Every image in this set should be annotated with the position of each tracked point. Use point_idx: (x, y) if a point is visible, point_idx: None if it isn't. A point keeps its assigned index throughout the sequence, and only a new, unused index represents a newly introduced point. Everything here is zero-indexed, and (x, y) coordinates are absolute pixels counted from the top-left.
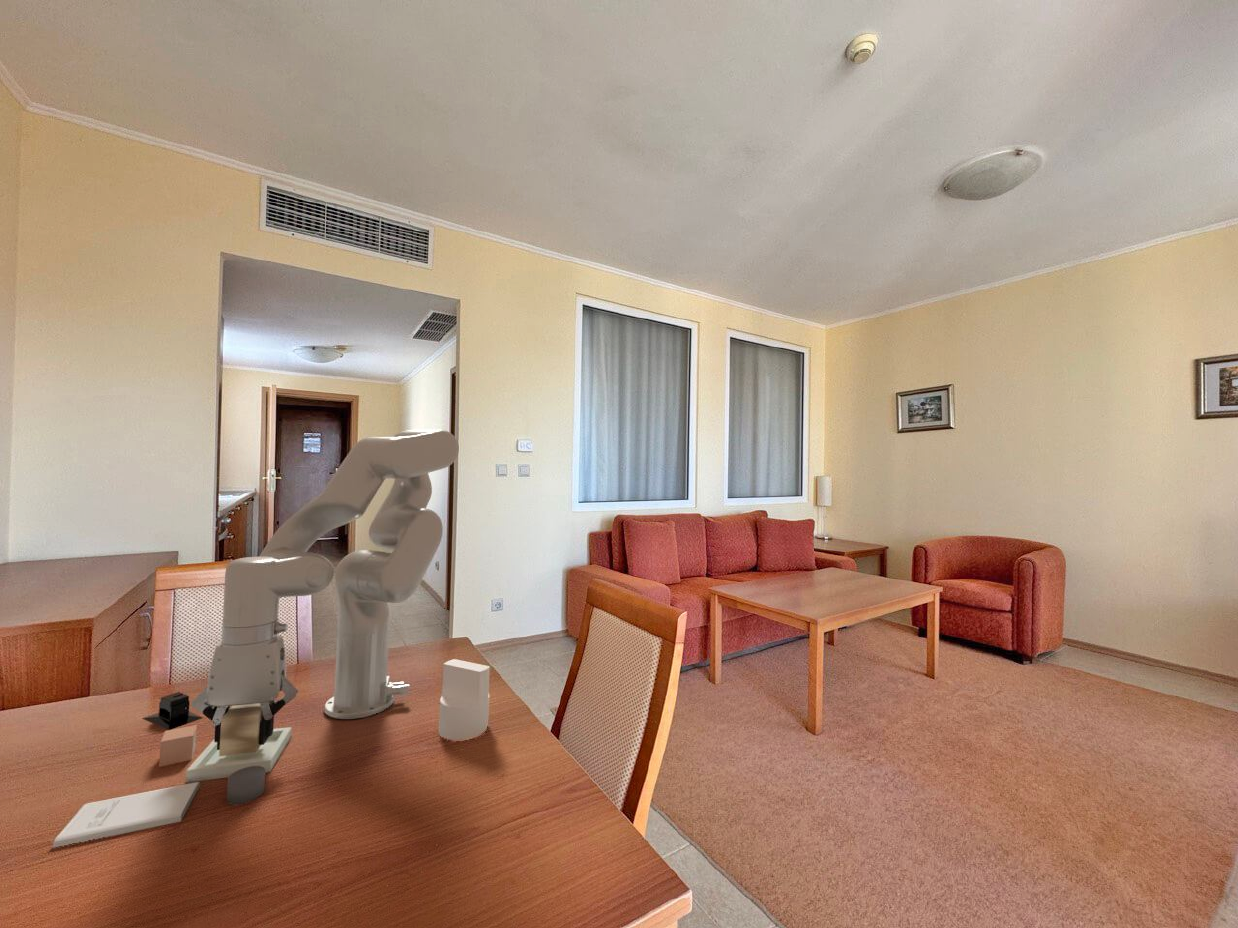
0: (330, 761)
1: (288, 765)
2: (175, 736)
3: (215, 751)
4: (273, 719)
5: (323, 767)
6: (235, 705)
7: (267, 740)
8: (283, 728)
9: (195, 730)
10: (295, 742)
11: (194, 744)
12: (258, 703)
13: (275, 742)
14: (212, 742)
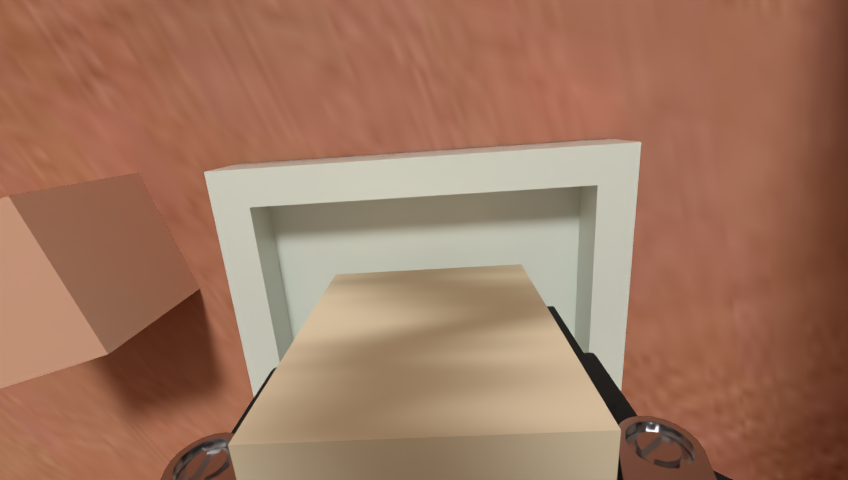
0: (831, 418)
1: (654, 415)
2: (3, 345)
3: (281, 280)
4: (630, 414)
5: (802, 456)
6: (261, 469)
7: (502, 200)
8: (590, 153)
9: (60, 252)
10: (646, 208)
11: (133, 232)
12: (512, 464)
13: (554, 235)
14: (233, 269)
